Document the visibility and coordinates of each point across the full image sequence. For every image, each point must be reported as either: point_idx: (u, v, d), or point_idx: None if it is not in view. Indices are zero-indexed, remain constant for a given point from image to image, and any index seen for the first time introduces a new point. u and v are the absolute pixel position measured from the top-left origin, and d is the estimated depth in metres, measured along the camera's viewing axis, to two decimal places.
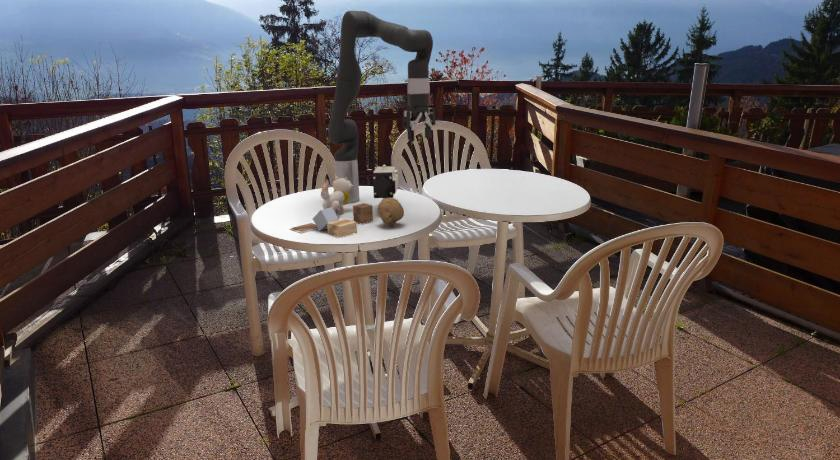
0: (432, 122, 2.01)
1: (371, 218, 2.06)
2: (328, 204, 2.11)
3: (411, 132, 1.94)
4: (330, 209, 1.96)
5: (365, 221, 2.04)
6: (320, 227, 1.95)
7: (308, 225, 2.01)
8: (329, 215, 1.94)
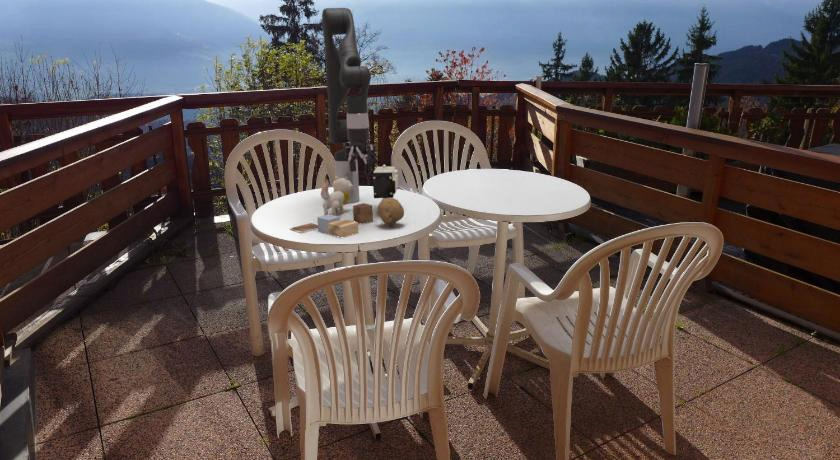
0: None
1: (371, 218, 2.06)
2: (328, 204, 2.11)
3: None
4: (337, 219, 1.94)
5: (365, 221, 2.04)
6: (320, 229, 1.96)
7: (308, 225, 2.01)
8: None
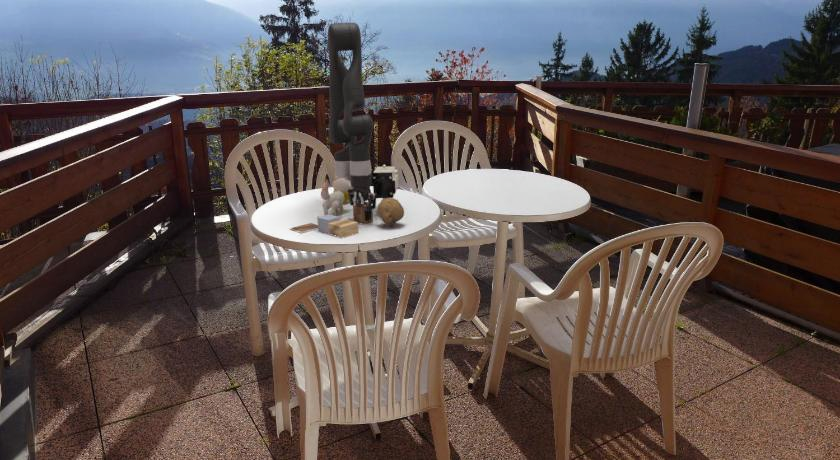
0: None
1: (371, 218, 2.06)
2: (328, 204, 2.11)
3: None
4: (337, 219, 1.94)
5: (365, 221, 2.04)
6: (320, 230, 1.96)
7: (308, 225, 2.01)
8: None
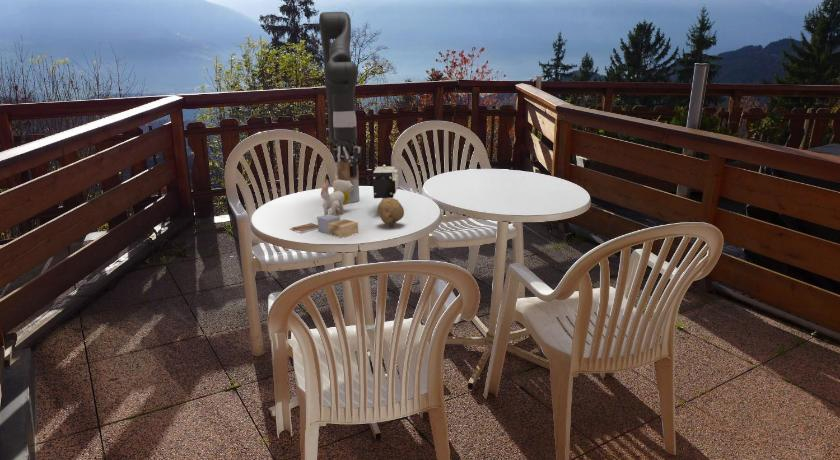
0: (341, 159, 1.94)
1: None
2: (328, 204, 2.11)
3: None
4: (337, 219, 1.94)
5: (350, 178, 1.90)
6: (320, 230, 1.96)
7: (308, 225, 2.01)
8: None
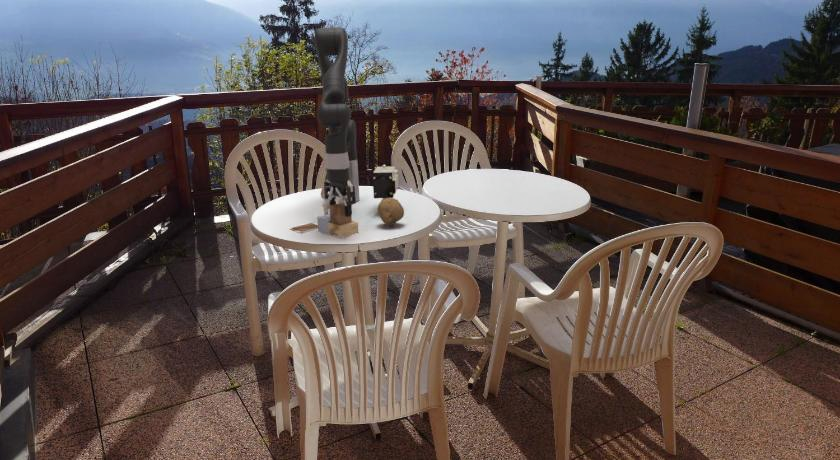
0: None
1: (349, 219, 1.91)
2: (328, 204, 2.11)
3: None
4: None
5: (343, 222, 1.90)
6: (320, 230, 1.96)
7: (308, 225, 2.01)
8: None
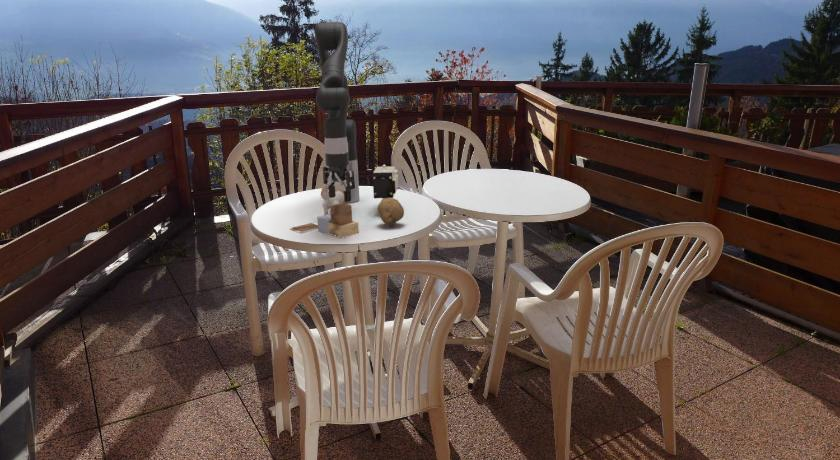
0: None
1: (350, 219, 1.91)
2: (328, 204, 2.11)
3: None
4: None
5: (344, 222, 1.89)
6: (320, 229, 1.96)
7: (308, 225, 2.01)
8: None
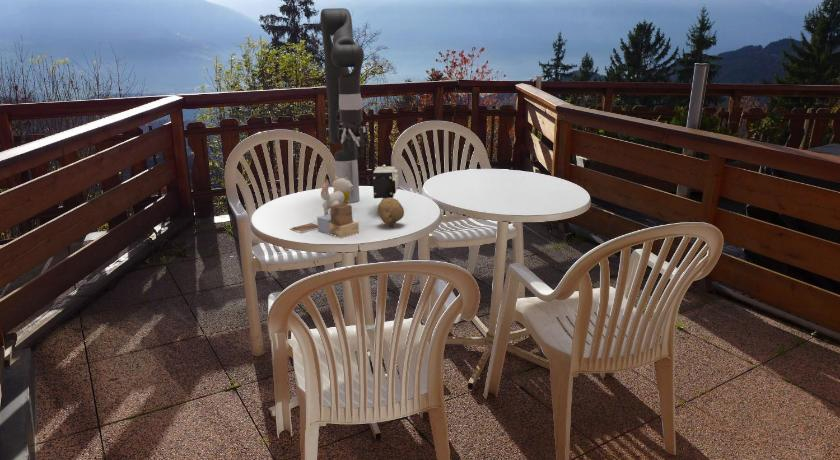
0: None
1: (350, 219, 1.91)
2: (328, 204, 2.11)
3: None
4: None
5: (344, 223, 1.89)
6: (320, 229, 1.96)
7: (308, 225, 2.01)
8: None
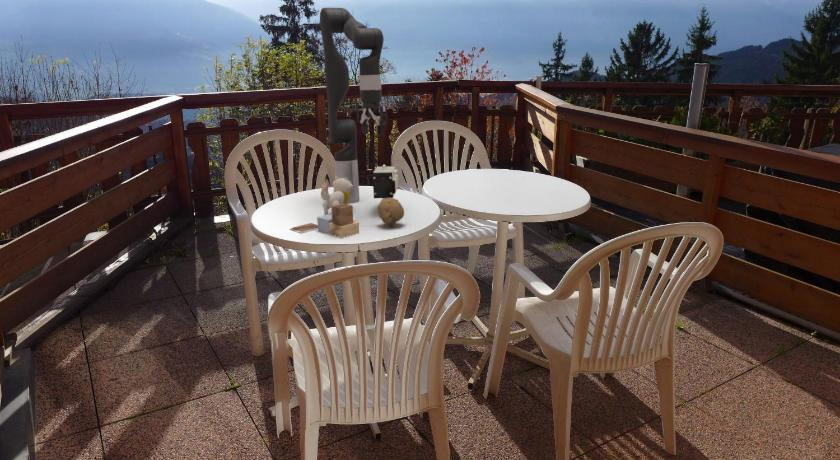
0: None
1: (351, 219, 1.90)
2: (328, 204, 2.11)
3: None
4: None
5: (344, 223, 1.89)
6: (320, 229, 1.96)
7: (308, 225, 2.01)
8: None
